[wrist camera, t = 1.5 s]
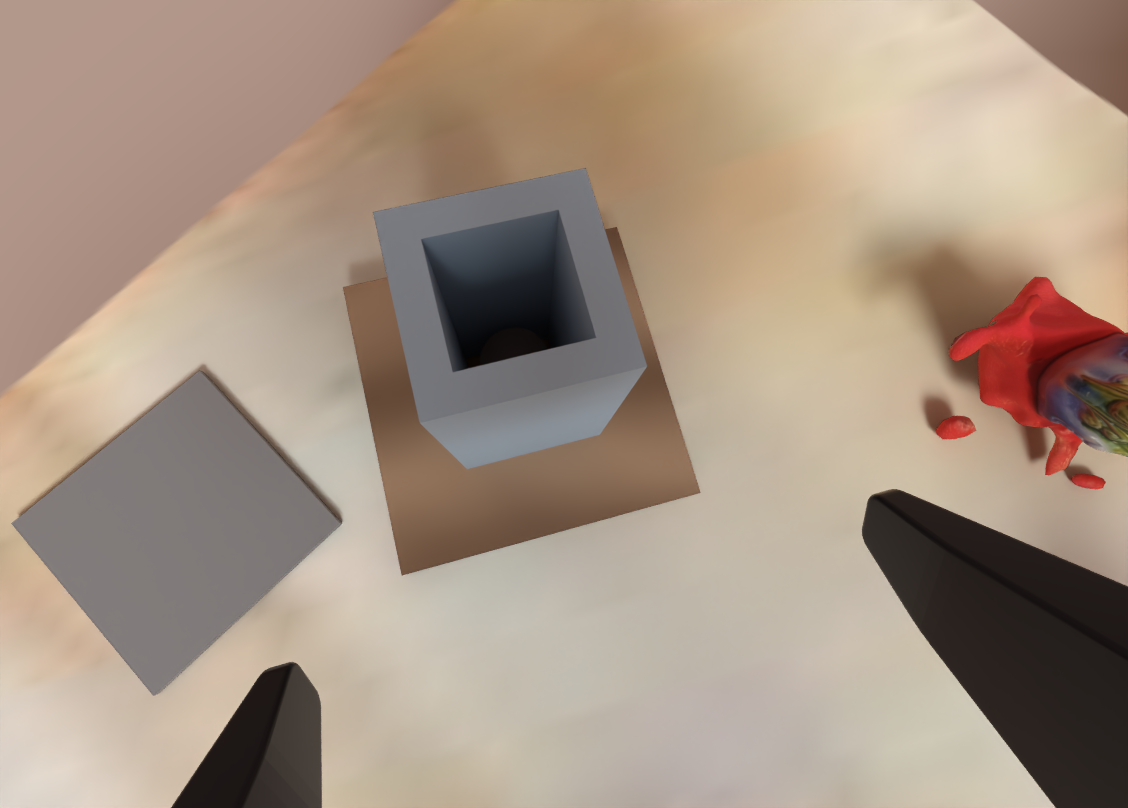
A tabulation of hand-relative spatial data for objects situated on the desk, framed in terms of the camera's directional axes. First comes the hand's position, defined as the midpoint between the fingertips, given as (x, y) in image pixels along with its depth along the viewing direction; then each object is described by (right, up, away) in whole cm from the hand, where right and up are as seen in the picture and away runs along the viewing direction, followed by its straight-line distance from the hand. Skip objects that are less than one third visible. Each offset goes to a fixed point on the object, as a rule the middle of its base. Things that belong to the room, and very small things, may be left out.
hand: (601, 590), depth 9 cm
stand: (-2, +3, +14) cm, 14 cm away
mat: (-14, -1, +12) cm, 19 cm away
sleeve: (-2, +3, +13) cm, 13 cm away
